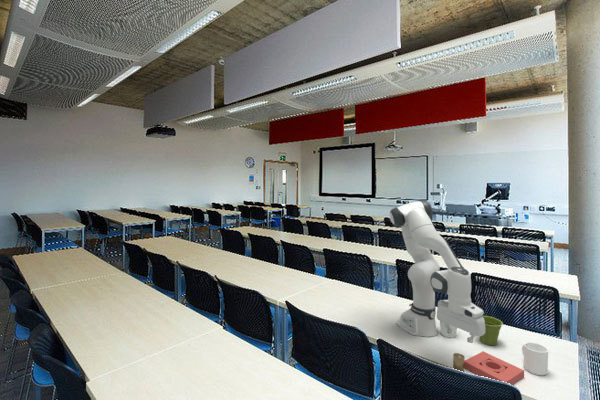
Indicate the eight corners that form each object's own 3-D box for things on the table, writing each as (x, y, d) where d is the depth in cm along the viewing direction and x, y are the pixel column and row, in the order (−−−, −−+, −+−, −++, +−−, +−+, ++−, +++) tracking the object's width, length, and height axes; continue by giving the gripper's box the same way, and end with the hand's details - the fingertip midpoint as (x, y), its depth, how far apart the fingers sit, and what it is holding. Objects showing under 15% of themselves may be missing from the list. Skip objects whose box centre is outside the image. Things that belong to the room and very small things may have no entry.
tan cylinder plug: (451, 370, 135) (451, 354, 134) (456, 367, 137) (457, 352, 136) (460, 375, 131) (460, 359, 130) (466, 372, 133) (466, 356, 133)
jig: (463, 367, 136) (463, 361, 136) (482, 357, 144) (483, 351, 144) (505, 389, 122) (505, 382, 122) (524, 377, 129) (524, 370, 129)
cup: (455, 330, 170) (456, 300, 169) (463, 340, 160) (464, 307, 159) (434, 329, 171) (434, 299, 170) (441, 339, 161) (441, 307, 160)
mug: (513, 359, 142) (514, 337, 141) (531, 359, 142) (532, 338, 141) (532, 376, 130) (533, 352, 129) (552, 376, 130) (553, 352, 129)
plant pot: (505, 350, 150) (506, 327, 149) (477, 346, 154) (478, 324, 153) (498, 338, 161) (499, 317, 161) (473, 334, 165) (473, 314, 164)
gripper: (433, 299, 139) (433, 329, 140) (478, 315, 122) (478, 350, 122) (442, 297, 143) (442, 326, 143) (487, 312, 125) (487, 345, 125)
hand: (459, 337), depth 133 cm, fingers open, 8 cm apart
